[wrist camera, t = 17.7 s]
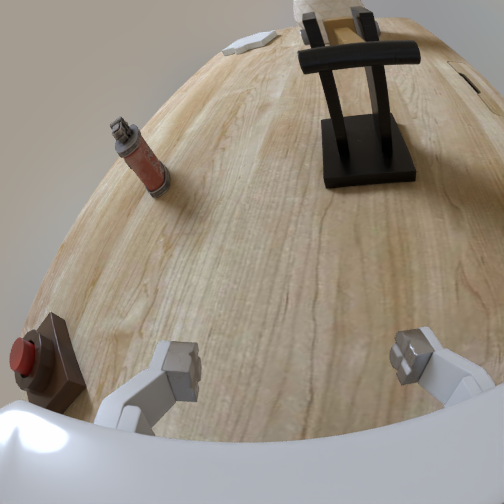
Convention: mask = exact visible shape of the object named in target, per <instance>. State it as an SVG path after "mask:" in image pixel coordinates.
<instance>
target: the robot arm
mask: <svg viewBox="0 0 504 504" xmlns="http://www.w3.org/2000/svg"><path fill="white" fill-rule="evenodd" d="M395 341H396V343H395V344H394V345H393V346H392V347H391V350H390V363H391V365H392V367H393V368H395V369H396V370H397V373H396V375H397V377H398V379H399V381H400V383H401V385H406V384H411V383H416V382H418V384H419V385H421V386H422V387H423V388H424V389H426V390H427V391H428V392H429V393H431V394H432V395H433V396H434V397H435V398H437V399H438V400H439V401H440V402H442V403H443V404H444V405H445V406H444V407H443V408H442V409H441V410H438V411H435V412H432V413H429V414H426V415H423V416H419V417H416V418H413V419H409V420H406V421H402V422H399V423H395V424H391V425H387V426H383V427H379V428H374V429H370V430H365V431H360V432H355V433H349V434H343V435H337V436H330V437H323V438H315V439H306V440H295V441H281V442H256V443H230V442H206V441H192V440H181V439H172V438H164V437H157V436H155V434H154V432H153V431H152V429H151V428H152V427H153V426H154V425H155V424H156V423H157V422H158V421H159V420H160V419H161V417H162V416H163V415H164V414H165V413H166V412H167V411H168V410H169V409H170V408H171V407H172V406H173V405H174V404H175V403H176V401H187V402H197V399H198V393H199V386H198V382H199V381H200V380H201V369H202V367H201V359H200V357H199V356H198V352H199V349H198V344H197V343H192V342H176V341H172V342H171V341H159V342H158V343H157V346H156V349H155V351H154V354H153V357H152V360H151V362H150V365H149V368H148V369H144V370H143V371H141V372H140V373H139V374H137V375H136V376H135V377H133V378H132V379H131V380H129V381H128V382H126V383H125V384H124V385H122V386H121V387H120V388H118V389H117V390H115V391H114V392H113V393H111V394H110V395H108V396H107V397H106V398H104V399H103V400H102V403H101V405H100V408H99V410H98V412H97V415H96V417H95V420H94V422H93V423H89V422H85V421H82V420H78V419H75V418H72V417H68V416H65V415H62V414H59V413H56V412H53V411H50V410H48V409H45V408H42V407H40V406H37V405H35V404H32V403H30V402H27V401H24V400H17V401H14V402H12V403H10V404H8V405H6V406H4V407H2V408H0V504H504V382H503V383H501V384H499V385H497V386H496V385H495V383H494V382H493V380H492V379H491V377H490V376H489V374H488V373H487V372H486V370H485V369H484V368H482V367H480V366H478V365H477V364H475V363H473V362H471V361H469V360H467V359H465V358H464V357H462V356H460V355H458V354H456V353H454V352H452V351H451V350H449V349H444V348H443V346H442V345H441V343H440V342H439V340H438V339H437V338H436V336H435V335H434V333H433V332H432V331H431V329H430V328H429V327H427V326H426V327H421V328H417V329H410V330H404V331H398V333H397V334H396V336H395Z"/></svg>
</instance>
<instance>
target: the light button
mask: <svg viewBox="0 0 504 504" xmlns="http://www.w3.org/2000/svg"><path fill="white" fill-rule="evenodd" d="M35 352H36V349H35V345H34V344H32V343H30V342H28V341H26V340H24V339H23V338H18V339H17V340H16V341H15V342H14V344H13V346H12V349H11V353H10V367H11V369H12V370H13V371H15V372H17V373H20V374H22V375H24V376H28V375H29V374H30V372H31V370H32V367H33V364H34V361H35Z"/></svg>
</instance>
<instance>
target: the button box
mask: <svg viewBox="0 0 504 504" xmlns="http://www.w3.org/2000/svg"><path fill="white" fill-rule="evenodd" d="M23 339H24V340H26V341H28V342H30V343H32V344H34V345H35V349H36V352H35V361H34V364H33V367H32V370H31V372H30V374H29V375H28V376H24V375H22V374H20V373H17V372H15V371H14V372H15V378H16V383H17V384H18V386H19V387H20V389H22V390H24V391H27V395H28V400H29V402H30V403H32V404H35V405H37V406H40V407H42V408H45V409H48V410H50V411H53V412H56V413H59V414H62V413H63V412H64V411H65V410H66V409H67V407H68V406H69V405H70V404H71V403H72V402H73V401H74V400H75V398H76V397H77V396H78V395H79V394H80V393H81V392H82V391H83V389H84V388H85V387H86V385H85V383H84V380H83V377H82V375H81V372H80V369H79V366H78V363H77V360H76V357H75V354H74V351H73V348H72V345H71V342H70V338H69V335H68V331H67V328H66V324H65V320H64V319H62V318H60V317H59V316H57V315H55V314H54V313H52V312H50V313H49V314H48V316H47V317H46V318H45V320H44V321H43V322H42V324H41V325H40V326H39V328H38V329H37V331H36V330H31V331H29V332H27V334H26V335H25V336H24V338H23Z"/></svg>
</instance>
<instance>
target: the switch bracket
mask: <svg viewBox="0 0 504 504" xmlns="http://www.w3.org/2000/svg"><path fill="white" fill-rule="evenodd" d="M350 9H351V13H352V16H353V20H354V23H355V27H356V31H357V35H358V36H360V37H361V38H362V39H363V40H364V41H366V42H371V41H379V37H380V29H379V26H378V23H377V22H376V21H375V20H374V16H373V13H372V12H371V11H369V10H367V9H365V8H364V7H362V6H356V7H350ZM302 23H303V25H304V28H305V29H302V30H300V33H301V36H302V39H303V42H304V44H305V45H310V46H311V49H312V48H318V47H325V44H324V40H323V37H322V34H321V31H320V28H319V25H318V22H317V19H316V16H315V13H314V12H309V13H303V14H302ZM365 71H366V76H367V81H368V87H369V93H370V99H371V106H372V113H373V114H366V115H356V116H347V117H343V114H342V110H341V105H340V101H339V96H338V92H337V88H336V84H335V80H334V76H333V72H332V70H330V71H323V72H319V75H320V79H321V82H322V86H323V90H324V93H325V97H326V101H327V105H328V109H329V113H330V117H331V119H323V120H321V129H322V148H323V178H324V183H325V187H326V188H336V187H346V186H357V185H368V184H380V183H394V182H409V181H415V180H416V169H415V167H414V164H413V161H412V159H411V156H410V154H409V151H408V149H407V146H406V144H405V142H404V139H403V137H402V135H401V132H400V130H399V128H398V126H397V123H396V121H395V119H394V117H393V115H392V113H390V107H389V98H388V90H387V82H386V75H385V69H384V65H379V66H366V67H365Z"/></svg>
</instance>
